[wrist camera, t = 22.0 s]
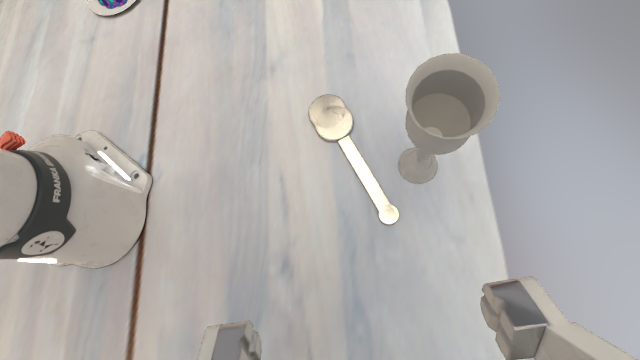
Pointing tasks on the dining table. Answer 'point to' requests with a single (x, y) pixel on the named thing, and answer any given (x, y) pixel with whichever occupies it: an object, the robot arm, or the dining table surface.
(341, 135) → the spoon
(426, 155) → the chalice
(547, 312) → the robot arm
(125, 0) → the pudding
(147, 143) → the dining table surface
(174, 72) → the dining table surface
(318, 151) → the dining table surface
